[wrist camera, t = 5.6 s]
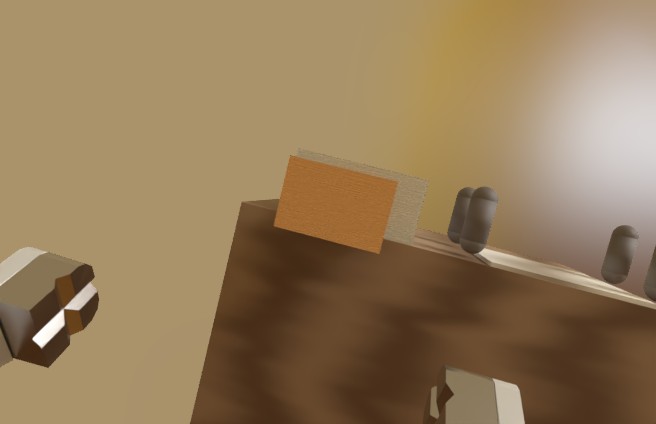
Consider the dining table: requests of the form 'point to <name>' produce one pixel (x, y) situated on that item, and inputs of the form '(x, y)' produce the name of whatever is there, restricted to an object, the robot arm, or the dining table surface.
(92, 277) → the robot arm
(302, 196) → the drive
